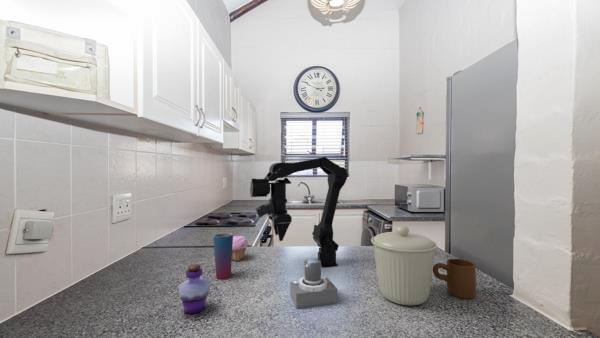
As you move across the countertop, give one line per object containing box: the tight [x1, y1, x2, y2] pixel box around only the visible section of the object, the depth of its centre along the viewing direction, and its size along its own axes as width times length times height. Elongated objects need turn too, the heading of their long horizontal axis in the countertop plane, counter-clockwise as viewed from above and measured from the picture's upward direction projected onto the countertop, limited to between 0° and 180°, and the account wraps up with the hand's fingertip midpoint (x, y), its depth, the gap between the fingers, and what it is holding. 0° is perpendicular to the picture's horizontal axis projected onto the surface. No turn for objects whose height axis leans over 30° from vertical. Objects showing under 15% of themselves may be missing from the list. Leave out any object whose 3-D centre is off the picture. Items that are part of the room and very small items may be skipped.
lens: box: [304, 258, 322, 286], centre depth 78 cm, size 5×5×7 cm
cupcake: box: [232, 235, 248, 262], centre depth 114 cm, size 9×9×10 cm
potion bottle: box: [177, 263, 211, 316], centre depth 73 cm, size 9×9×12 cm
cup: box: [212, 232, 234, 281], centre depth 95 cm, size 7×7×15 cm
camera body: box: [289, 276, 338, 310], centre depth 78 cm, size 12×8×5 cm
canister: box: [370, 225, 438, 306], centre depth 79 cm, size 18×18×21 cm
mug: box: [432, 258, 477, 300], centre depth 81 cm, size 12×8×9 cm, turn 85°
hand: (278, 237), depth 100 cm, fingers open, 9 cm apart
